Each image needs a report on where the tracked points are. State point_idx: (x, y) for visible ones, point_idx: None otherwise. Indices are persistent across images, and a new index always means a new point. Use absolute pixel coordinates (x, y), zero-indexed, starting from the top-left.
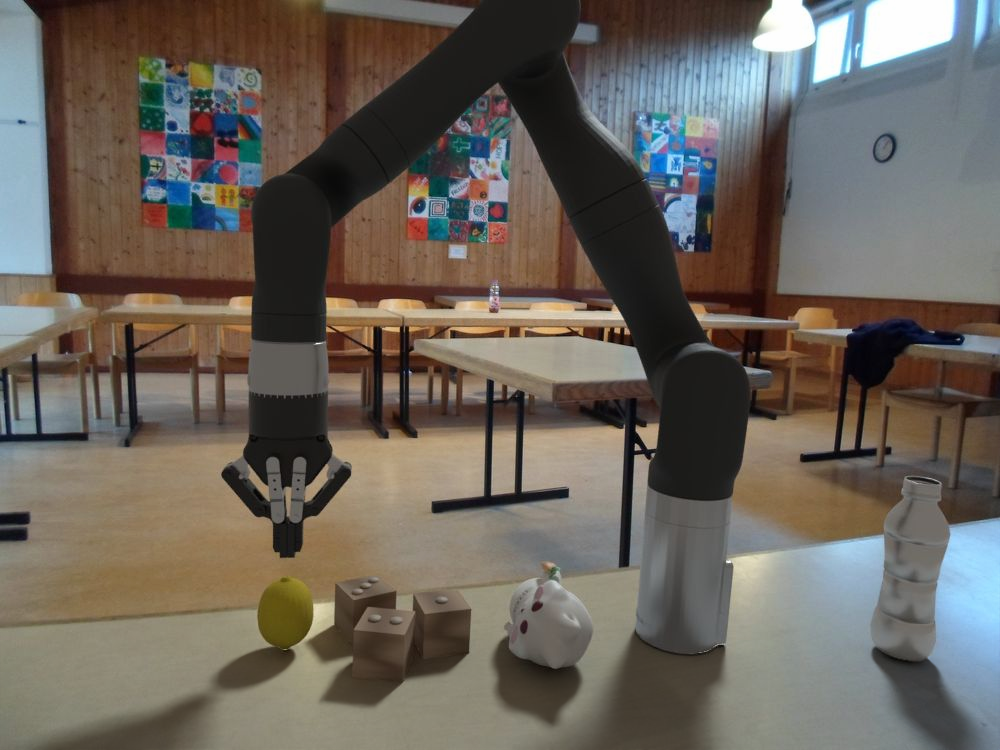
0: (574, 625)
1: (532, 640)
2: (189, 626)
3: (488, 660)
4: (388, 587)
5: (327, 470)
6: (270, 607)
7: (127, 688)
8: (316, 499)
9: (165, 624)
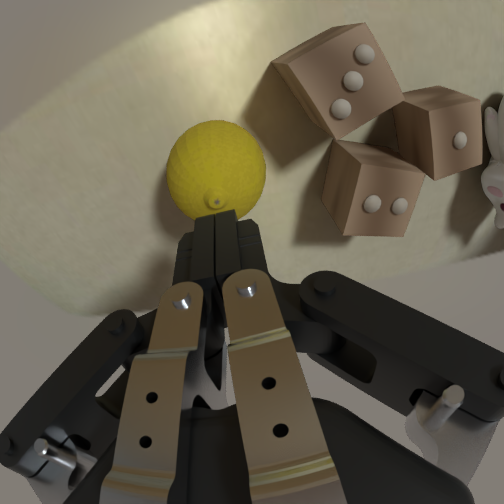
0: None
1: (501, 214)
2: (54, 120)
3: None
4: (392, 85)
5: (420, 434)
6: None
7: (86, 255)
8: (342, 377)
9: (27, 126)
